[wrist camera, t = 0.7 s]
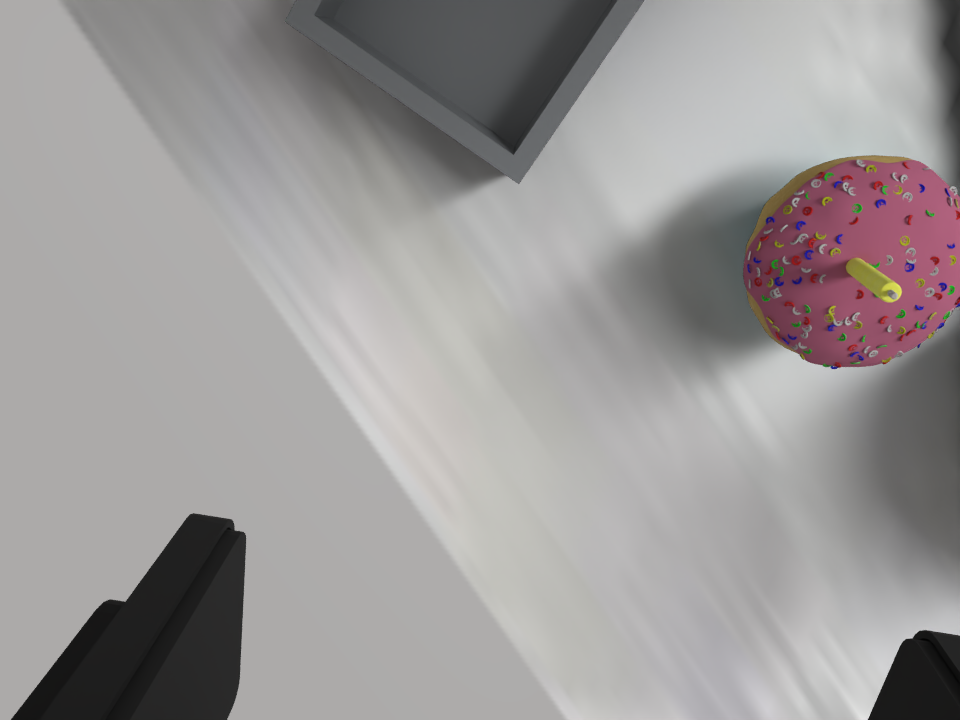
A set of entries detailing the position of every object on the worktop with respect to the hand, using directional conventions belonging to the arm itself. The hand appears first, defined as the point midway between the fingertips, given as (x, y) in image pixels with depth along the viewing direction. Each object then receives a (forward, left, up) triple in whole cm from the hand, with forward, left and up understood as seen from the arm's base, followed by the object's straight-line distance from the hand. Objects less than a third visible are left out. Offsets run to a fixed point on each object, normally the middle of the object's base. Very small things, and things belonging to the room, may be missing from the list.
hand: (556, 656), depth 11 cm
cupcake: (-7, +10, -27) cm, 30 cm away
